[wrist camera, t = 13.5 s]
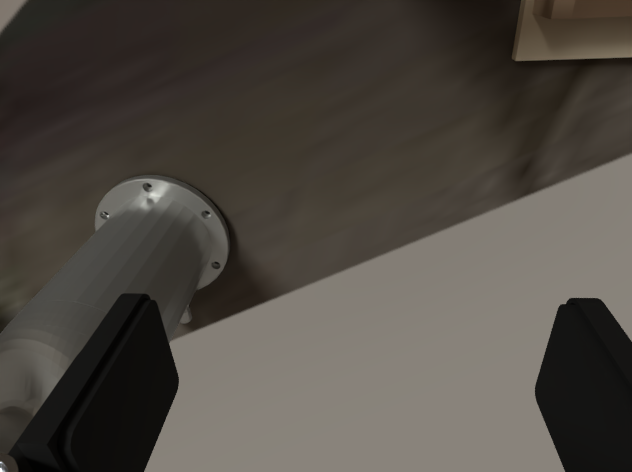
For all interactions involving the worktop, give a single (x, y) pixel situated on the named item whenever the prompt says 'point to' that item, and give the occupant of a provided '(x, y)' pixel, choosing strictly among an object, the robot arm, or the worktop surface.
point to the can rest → (573, 30)
